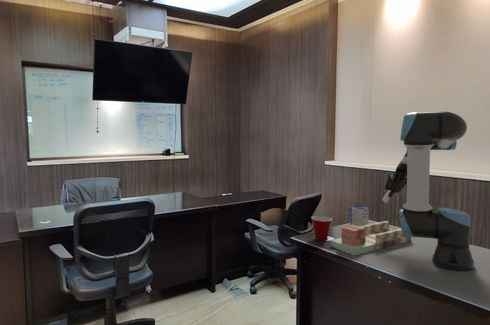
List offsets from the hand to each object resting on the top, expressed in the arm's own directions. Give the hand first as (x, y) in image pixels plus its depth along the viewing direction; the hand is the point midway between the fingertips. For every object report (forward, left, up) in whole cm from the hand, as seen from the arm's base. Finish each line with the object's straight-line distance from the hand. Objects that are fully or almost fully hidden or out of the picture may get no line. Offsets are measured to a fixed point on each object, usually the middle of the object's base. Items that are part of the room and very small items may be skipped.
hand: (384, 201), depth 178 cm
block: (-7, +22, -18) cm, 29 cm away
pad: (-6, +22, -21) cm, 31 cm away
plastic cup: (+11, +30, -21) cm, 38 cm away
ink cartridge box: (+24, 0, -21) cm, 32 cm away
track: (-1, +3, -21) cm, 21 cm away
